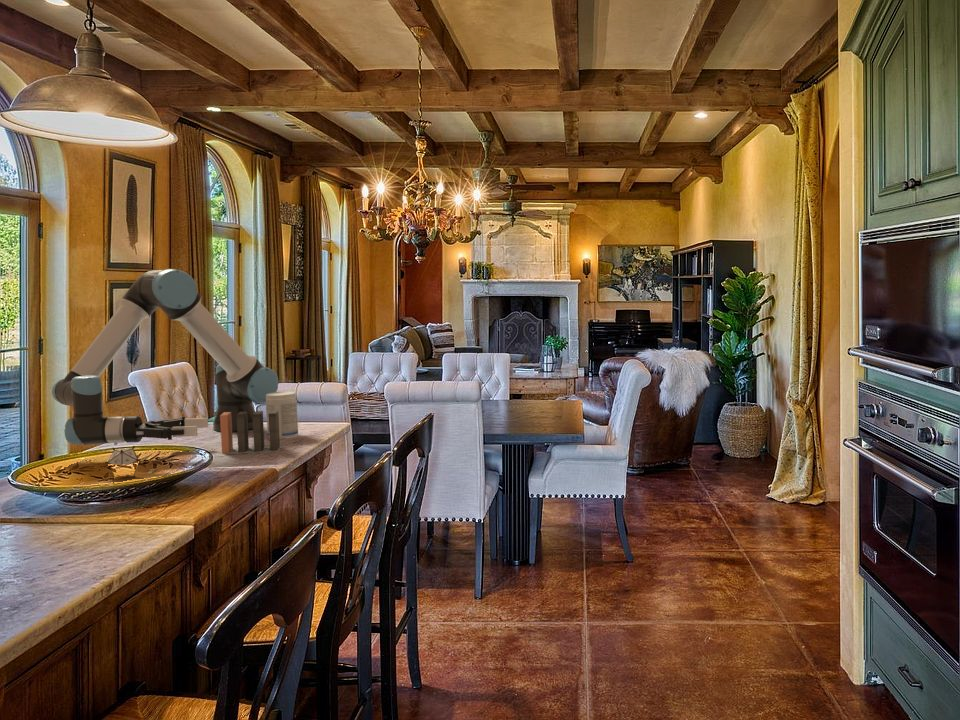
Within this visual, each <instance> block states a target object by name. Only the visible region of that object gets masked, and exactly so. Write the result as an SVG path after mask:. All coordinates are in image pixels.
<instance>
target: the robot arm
mask: <svg viewBox="0 0 960 720" xmlns="http://www.w3.org/2000/svg"><path fill="white" fill-rule="evenodd" d="M197 289H198V286H197V283H196V281H195V279H194V278H193V277H192V276H191V275H190V274H189V273H187V272H186V271H183V270H181V269H180V270H179V269H175V268H167V269H159V270H158V269H157V270H155V269H153V270H149V271H147V272H144V273H143V274H142V275H140V276H139V277H138V278H137V279H136V280H135V281H134V282H133V283H132V285H131V286H130V287H129V289H128V290H127V291H126V293H124V295H123V296H122V297H121V298H120V306H119V307H118V308H117V310H116V311H115V312H114V314H113V315H112V316H111V318H110V319H109V320H108V321H107V323H106V324H105V326H104V327H103V328H102V330H101V331H100V332H99V333H98V334H97V336H96V338H94V340H93V341H92V342H91V344H90V345H89V346H88V347H87V349H86V350H84V353H83V354H82V355H81V357H80V358H79V359H78V360H77V362H76V364H75V365H73V367H72V369H71V370H69V372H68V373H67V375H66V376H65V377H64V378H62V379H59V380H57V381H56V382H54V384H53V385H52V388H51V395H52V397H53V399H54V400H55V401H56V402H58V403H59V404H61V405H64V406H68V407H72V409H73V417H72V418H69V419H67V421H65V425H64V437H65V440H66V442H67V443H69V444H70V445H84V446H86V445H101V444H102V445H103V444H104V445H105V444H112V443H113V444H114V446H117V445H118V444H119V443H120V444H122V443H125V442H126V443H129V444H130V443H140V442H141V440H142V439H143V438H150V439H151V438H153V439H167V441H170V440H173V438H177V437H179V438H180V437H198V429H199V428H208V427H209V418H208V417H196V418H195V417H194V418H193V417H192V418H186V416H185V415H184V416H183V415H182V416H181V417H179V418H168V419H159V420H148V421H147V422H145V423H144V422H143V419H142V417H141V416H139V415H133V416H132V415H130V416H129V415H128V416H126V417H125V416H124V415H123V416H107V417H106V416H105V417H104V409H103V407H104V406H103V404H104V403H103V386H102V380H101V376H102V375H103V374H104V371H105V370H106V369H107V368H108V367H109V365H110V364H111V362H112V361H113V360H114V359H115V357H116V356H117V355H118V353H119V352H120V351H121V350H122V348H123V347H124V345H125V344H126V343H127V341H128V340H129V339H130V337H131V336H132V335H133V333H134V332H135V331H136V329H137V328H138V327H139V325H141V323H142V321H144V320H146V319H149V318H150V317H151V315H152V314H153V313H154V312H156V310H158V309H160V310H161V311H162V312H163V313H164V314H165V315H166V316H167V318H168V319H169V320H171V321H178V322H179V323H181V325H182V327H184V328H185V330H186V331H187V332H189V333H190V334H191V336H192V337H193V338H195V340H196V341H197V342H198V344H200V346H201V347H203V348H204V350H205V351H206V352H207V353H208V354H209V355H210V356H211V357H212V359H213V360H215V362H217V365H216V368H215V380H216V381H215V383H216V386H215V387H216V399H217V400H216V401H217V407H216V411H215V414H214V415H215V416H214V419H213V424H212V425H213V426H212V427H213V430H214V431H217V432H221V425H220V415H221V414H223V413H224V412H231V418H232V432H237V414H238V413H239V412H247V418H248V431H250V430H253V413H254V412H256V411H255V408H254V404H253V403H266V394H268V393H274V392H278V389H279V378H278V374H277V373H276V372H275V371H274V370H273V369H272V368H270V367H267V366H264V365H263V364H262V363H261V362H260V361H259V360H258V359H257V357H256V356H255V355H248V354H247V353H246V352H245V351H244V350H243V349H242V348H241V346H240V345H239V344H238V343H237V342H236V341H235V340H234V338H232V336H231V335H230V334H229V333H228V332H227V330H225V328H223V326H222V325H221V324H220V323H219V322H218V320H217V319H216V318H215V317H214V316H213V315H212V314H211V312H210V311H208V309H207V308H206V307H205V306H204V304H203V303H202V295H201V294H200V293H199V291H198V290H197Z"/></svg>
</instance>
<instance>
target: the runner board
mask: <svg viewBox="0 0 960 720" xmlns="http://www.w3.org/2000/svg"><path fill="white" fill-rule="evenodd" d="M282 447H283V445H280V447H279V449H278V450H277V451H270V445H269V446H264V449H263V450H262V451H260V452H254V446H252V447H251V446H249V449H248V450H247V451H246V452H238V447H233V449H232V450H231V451H230V452H229V453H222V451H221V452H220V453H219V455H232V454H234V455H236V454H259V453H275V452H276V453H278V452H280V450H281V448H282Z"/></svg>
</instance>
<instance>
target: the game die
mask: <svg viewBox="0 0 960 720" xmlns="http://www.w3.org/2000/svg"><path fill="white" fill-rule="evenodd" d="M135 448H136V446H135V445H133V446H132V448H119V449H115V447H113V446H112V447H111V449H112V453H111V455H110V456H109V458H108V461H104V464H107V465H108V464H114V465H115V464H117V465H122V464H130V463H134V462H138V461H139V462H141V458H138V455H137V453H136V451H135V450H134V449H135Z"/></svg>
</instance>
